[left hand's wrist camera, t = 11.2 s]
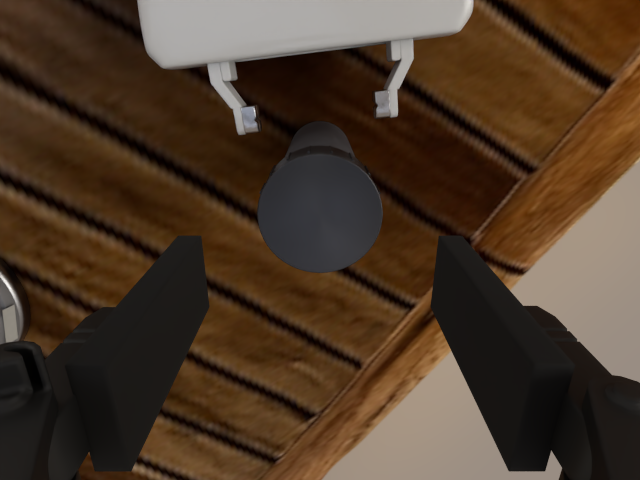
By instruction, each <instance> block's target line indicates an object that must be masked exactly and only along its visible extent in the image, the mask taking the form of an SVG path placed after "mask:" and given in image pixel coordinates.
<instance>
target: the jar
mask: <svg viewBox="0 0 640 480" xmlns="http://www.w3.org/2000/svg"><path fill="white" fill-rule="evenodd" d="M308 145H311V146H330V145H332V147H335V148H338V149H341V150H344V151H346V152H347V153H349V152H350V153H352V156H354V153H353V151H352V148H351V146H350V144H349V141H348V139H347V137H346V135H345V134H344V133H343V131H342V130H341V129H340V128H338V127H337V126H335V125H334V124H331V123H329V122H324V121H316V122H311V123H309V124H306V125H305V126H303V127H302V128H300V129H299V130H298V131H297V133H296V134H295V135H294V137H293V139H292V141H291V144H290V146H289V148H288V151H287V153H286V155H285V157H286V156H288V154H289V153H290V152H291V153H293V152H295V151H297V150H299V149H302V148H305V147H308ZM354 157H355V156H354Z"/></svg>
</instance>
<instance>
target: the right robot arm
mask: <svg viewBox="0 0 640 480" xmlns="http://www.w3.org/2000/svg"><path fill="white" fill-rule="evenodd" d="M137 3H138V11H139V17H140V23H141V29H142V35H143V40H144V44H145V48H146V52H147V54H148V55H149V56H150V57H151V58H152V59H153V60H154V61H155V62H156V63H157V64H158V65H159V66H160V67H161V68H163V69H185V68H193V67H201V66H207V67H208V72H209V77H210V82H211V84H212V85H213V87H214V88H215V89H216V90H217V92H218V93H219V94H220V95H221V97H222V98H223V99H224V100H225V102H226V103H227V104H228V106H229V107H230V108H231V109H233V112H234V117H235V123H236V128H237V132H238V135H244V134H252V133H259V132H260V131H261V130H262V126H261V121H260V119H259V118H258V117H259V114H260V113H259V107H258V105H249V106H246V103H245V102H244V101H243V99H242V98H241V97H240V95H239V94H238V93H237V91H236V90H235V89H234V87H233V86H232V85H231V83H230V82H229V81H234V80H237V73H236V67H235V62H242V61H250V60H258V59H266V58H274V57H282V56H290V55H298V54H306V53H314V52H322V51H331V50H339V49H347V48H355V47H363V46H371V45H379V44H386V53H387V61H388V62H390V61H396V62H395V64H394V66H393V69H392V71H391V73H390V75H389V77H388V80H387V82H386V84H385V86H384V88H383V90H376V91H372V101H373V102H374V103H375V105H374V107H373V114H374V118H375V119H381V118H390V117H397V115H398V100H397V89H399V88H400V86H401V84H402V81H403V79H404V77H405V75H406V73H407V71H408V69H409V67H410V65H411V63H412V61H413V59H414V58H413V40H420V39H428V38H436V37H444V36H449V35H453V34H455V33H458V32H459V31H461V29H462V28H463V27H464V25H465V24H466V22H467V21H468V19H469V18H470V16H471V14H472V11H473V0H137Z"/></svg>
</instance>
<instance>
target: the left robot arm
mask: <svg viewBox="0 0 640 480" xmlns="http://www.w3.org/2000/svg"><path fill="white" fill-rule="evenodd" d="M208 309H209V300H208V291H207V282H206V274H205V265H204V257H203V248H202V239H201V236H178V237H177V238H176V239H175V240H174V241H173V242H172V244H171V245H170V246H169V247H168V248H167V249H166V250H165V252H164V253H163V254H162V255H161V256H160V257H159V258H158V260H157V261H156V262H155V263H154V264H153V265H152V266H151V268H150V269H149V270H148V271H147V272H146V273H145V274H144V276H143V277H142V278H141V279H140V280H139V281H138V282H137V284H136V285H135V286H134V287H133V288H132V289H131V290H130V292H129V293H128V294H127V295H126V296H125V297H124V298H123V300H122V301H121V302H120V303H119V304H118V305H117V306H116V307H103V308H101V309H100V310H98V311H96V312H94V313H93V314H91V315H89V316H88V317H86V318H85V319H84V320H83V321H82V322H81V323H80V324H79V325H78V326H77V327H76V328H75V329H74V330H73V333H70V334H69V335H68V336H67V337H66V338H65V340H64V341H63V343H61V344H60V345H59V346H58V347H57V348H56V349H55V350H54V351H53V352H52V353H51V354H50V355H49V356H48V357H47V358H46V359H45V360H44V357H43V354H42V350H41V347H40V346H39V345H37V344H36V343H34V342H28V341H23V340H24V338H25V336H26V334H27V332H28V329H29V325H30V306H29V302H28V298H27V295H26V293H25V291H24V288H23V286H22V285H21V283H20V281H19V279H18V278H17V277H16V275H15V274H14V272H13V271H12V270H11V269H10V268H9V266H8V265H7V264H6V263H5V262H4V261H3V260H2V259H1V258H0V480H81V478H80V474H79V471H78V469H79V467H80V466H81V464H82V462H83V461H84V459H85V457H86V456H87V454H88V452H90V456H91V459H92V463H93V466H94V470H95V471H131V470H132V468H133V466H134V464H135V462H136V460H137V458H138V456H139V454H140V451H141V449H142V447H143V445H144V443H145V441H146V439H147V437H148V435H149V433H150V430H151V428H152V426H153V424H154V422H155V420H156V418H157V416H158V414H159V412H160V409H161V407H162V405H163V403H164V401H165V399H166V397H167V395H168V393H169V391H170V388H171V386H172V384H173V382H174V380H175V378H176V376H177V374H178V372H179V370H180V367H181V365H182V363H183V361H184V359H185V357H186V355H187V353H188V351H189V349H190V346H191V344H192V342H193V340H194V338H195V336H196V334H197V332H198V330H199V327H200V325H201V323H202V321H203V319H204V317H205V315H206V313H207V311H208ZM431 309H432V311H433V313H434V315H435V317H436V319H437V321H438V323H439V325H440V327H441V330H442V332H443V334H444V336H445V338H446V340H447V342H448V344H449V346H450V349H451V351H452V353H453V355H454V357H455V359H456V361H457V363H458V365H459V367H460V370H461V372H462V374H463V376H464V378H465V380H466V382H467V384H468V386H469V388H470V391H471V393H472V395H473V397H474V399H475V401H476V403H477V405H478V407H479V409H480V411H481V414H482V416H483V418H484V420H485V422H486V424H487V426H488V428H489V430H490V432H491V435H492V437H493V439H494V441H495V443H496V445H497V447H498V449H499V451H500V453H501V456H502V458H503V460H504V462H505V464H506V466H507V468H508V470H509V471H545V470H546V466H547V463H548V459H549V456H550V452H551V450H552V452H553V454H554V455H555V457H556V458H557V460H558V462H559V463H560V465H561V467H562V471H561V474H560V478H559V480H640V383H639V382H637V381H634V380H631V379H628V378H624V377H621V376H614V375H611V374H610V373H609V372H608V371H607V370H606V369H605V368H604V367H603V366H602V364H601V363H600V362H599V361H598V360H597V359H596V358H595V357H594V356H593V355H592V354H591V353H590V352H589V351H588V350H587V349H586V348H585V347H584V346H583V345H582V344H581V343H580V342H577V339H576V338H575V337H574V336H573V335H572V333H571V332H569V331H567V328H566V327H565V326H564V325H563V324H562V323H561V322H560V321H559V320H558V319H557V318H556V317H555V316H553V315H552V314H550V313H548V312H547V311H545V310H543V309H541V308H540V307H538V306H523V305H522V304H521V303H520V302H519V301H518V300H517V298H516V297H515V296H514V295H513V294H512V293H511V292H510V290H509V289H508V288H507V287H506V286H505V285H504V284H503V282H502V281H501V280H500V279H499V278H498V277H497V276H496V274H495V273H494V272H493V271H492V270H491V269H490V268H489V266H488V265H487V264H486V263H485V262H484V261H483V260H482V258H481V257H480V256H479V255H478V254H477V253H476V252H475V250H474V249H473V248H472V247H471V246H470V245H469V244H468V242H467V241H466V240H465V239H464V238H463V237H462V236H439V239H438V248H437V257H436V265H435V274H434V282H433V291H432V300H431Z"/></svg>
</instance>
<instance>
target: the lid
mask: <svg viewBox="0 0 640 480" xmlns="http://www.w3.org/2000/svg"><path fill="white" fill-rule="evenodd" d="M370 175H371V174H370V172H369V170H368V168H367V166H366V165H365V166H364V165H363V164H362V163H361V162H360V161H359V160H358V159H357V158H355V157H354V156H352V153H350V152H349V153H347V152H346V151H344V150H341V149H338V148H335V147H332V145H330V146H311V145H308V147H305V148H302V149H299V150H297V151H295V152H293V153H291V152H290V153H289V154H288V156H286V157H285V158H283V159H282V160H281V161H280V162H279V163H278V164H277V165H276V166H275V165H274V167H273V168H272V170H271V172H270V176H269V178H268V180H267V182H266V183H264V185H263V187H262V189H261V191H260V194H261V195H260V198H259V202H258V212H257V217H258V224H259V228H260V232H261V234H262V236H263V239H264V241H265V242H266V244H267V246H268V247H269V248H270V249H271V251H272V252H273V253H274V254H275V255H276V256H277V257H278V258H280V259H281V260H282V261H283V262H285V263H287V264H288V265H290V266H292V267H295V268H297V269H300V270H303V271H308V272H316V273H324V272H332V271H337V270H340V269H343V268H345V267H348V266H350V265H352V264H353V263H355V262H357V261H358V260H359V259H360V258H362V257H363V256H364V255H365V254H366V253H367V252H368V251H369V249H370V248H371V247H372V246H373V244H374V242H375V241H376V239H377V237H378V234H379V232H380V228H381V224H382V217H383V212H382V202H381V198H380V195H379V194H380V191H379V189H378V187H377V185H376V183H374V182H373V180H372V178H371V176H370Z"/></svg>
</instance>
